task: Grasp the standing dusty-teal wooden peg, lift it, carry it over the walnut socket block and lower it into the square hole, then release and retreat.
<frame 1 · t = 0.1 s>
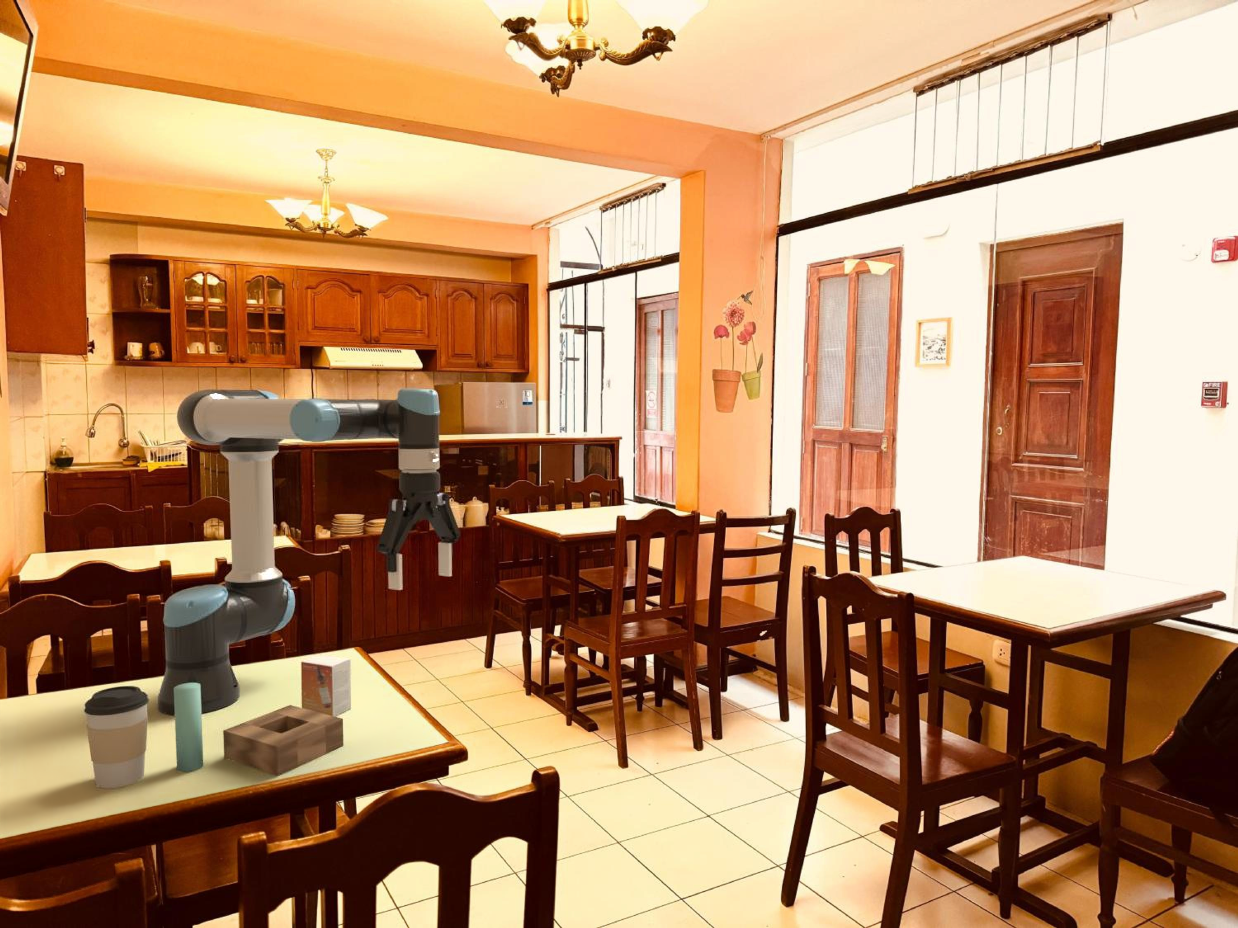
hand: (421, 582, 157), 28 cm above the table, fingers open, 13 cm apart
coffee cup: (120, 779, 136), on the table
socket: (284, 751, 147), on the table
peg: (190, 766, 141), on the table
small box: (326, 711, 167), on the table
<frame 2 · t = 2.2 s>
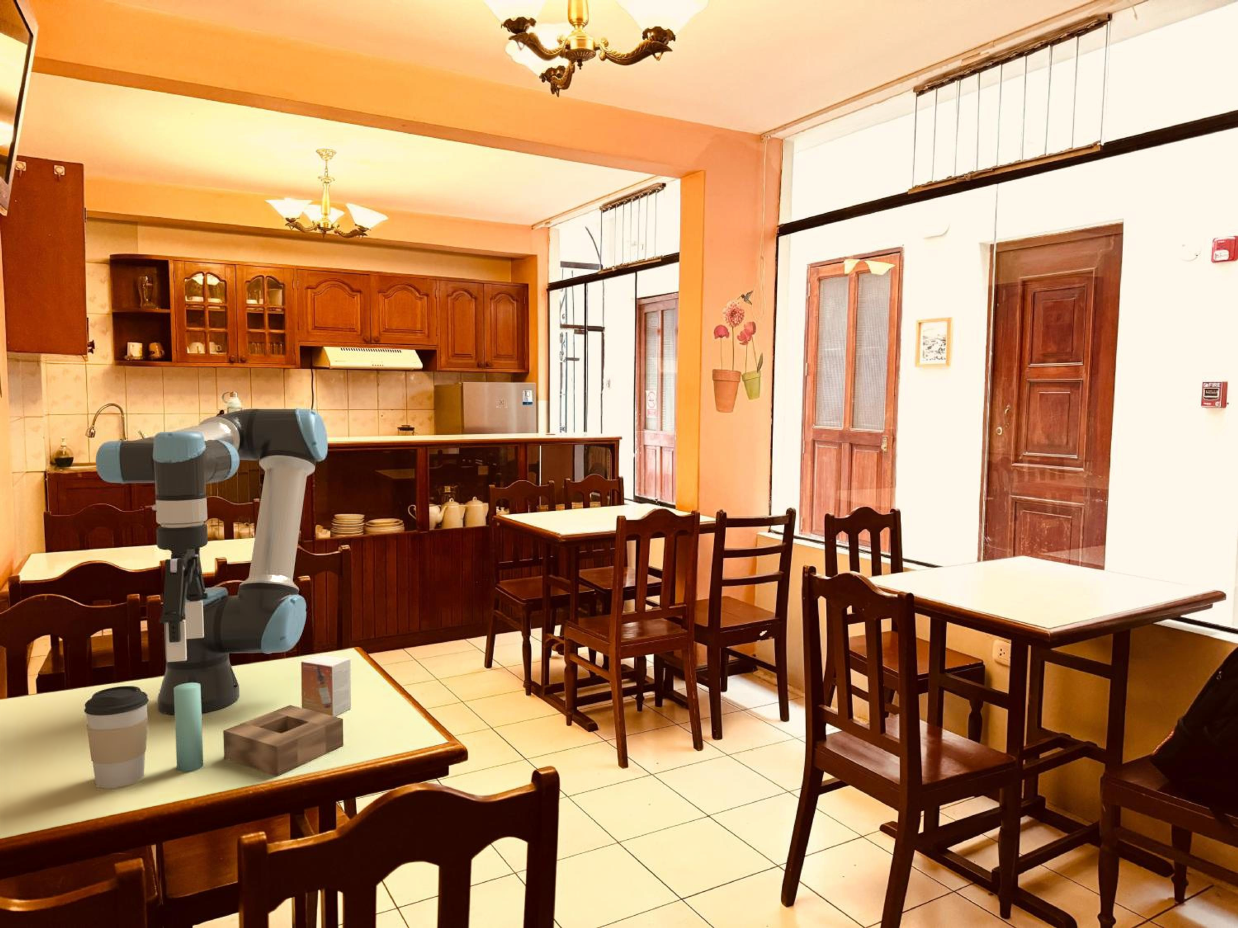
hand: (186, 648, 139), 21 cm above the table, fingers open, 13 cm apart
nothing on the table moved.
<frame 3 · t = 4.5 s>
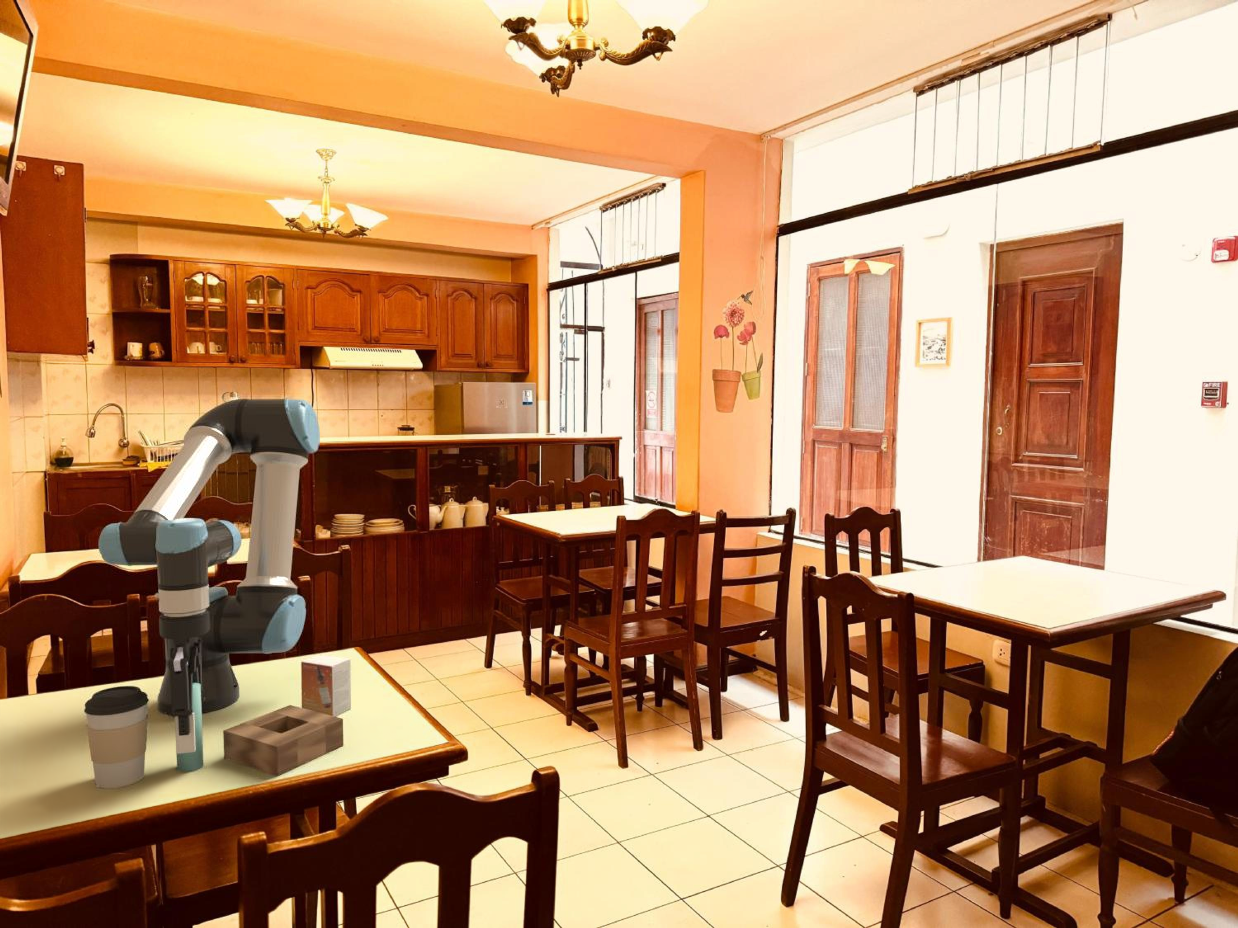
hand: (189, 745, 140), 4 cm above the table, fingers closed on peg, 4 cm apart
peg: (190, 766, 141), on the table, touching gripper
everything else where it was.
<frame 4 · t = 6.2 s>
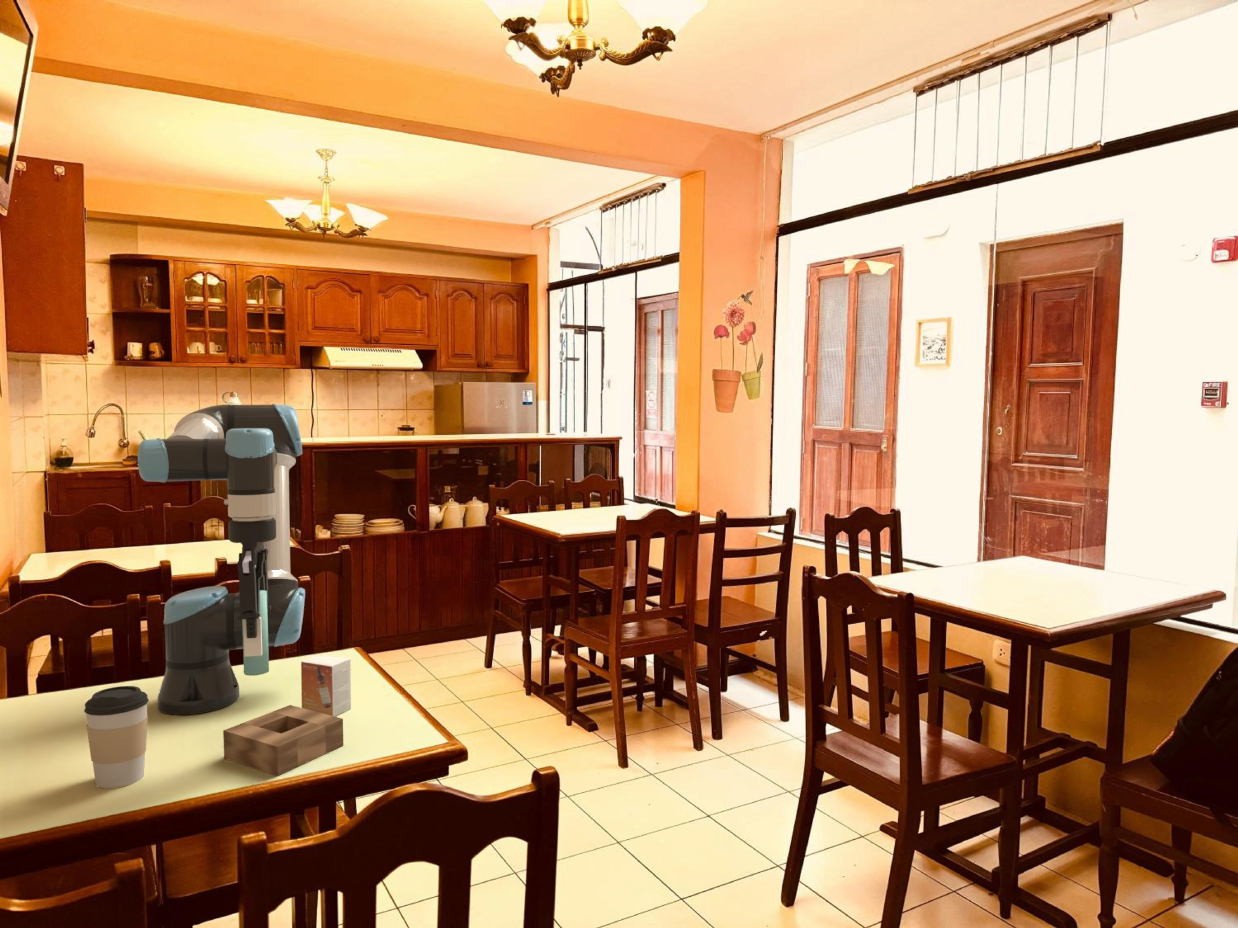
hand: (256, 651, 143), 19 cm above the table, fingers closed on peg, 4 cm apart
peg: (256, 671, 144), point 15 cm above the table, touching gripper
everything else where it was.
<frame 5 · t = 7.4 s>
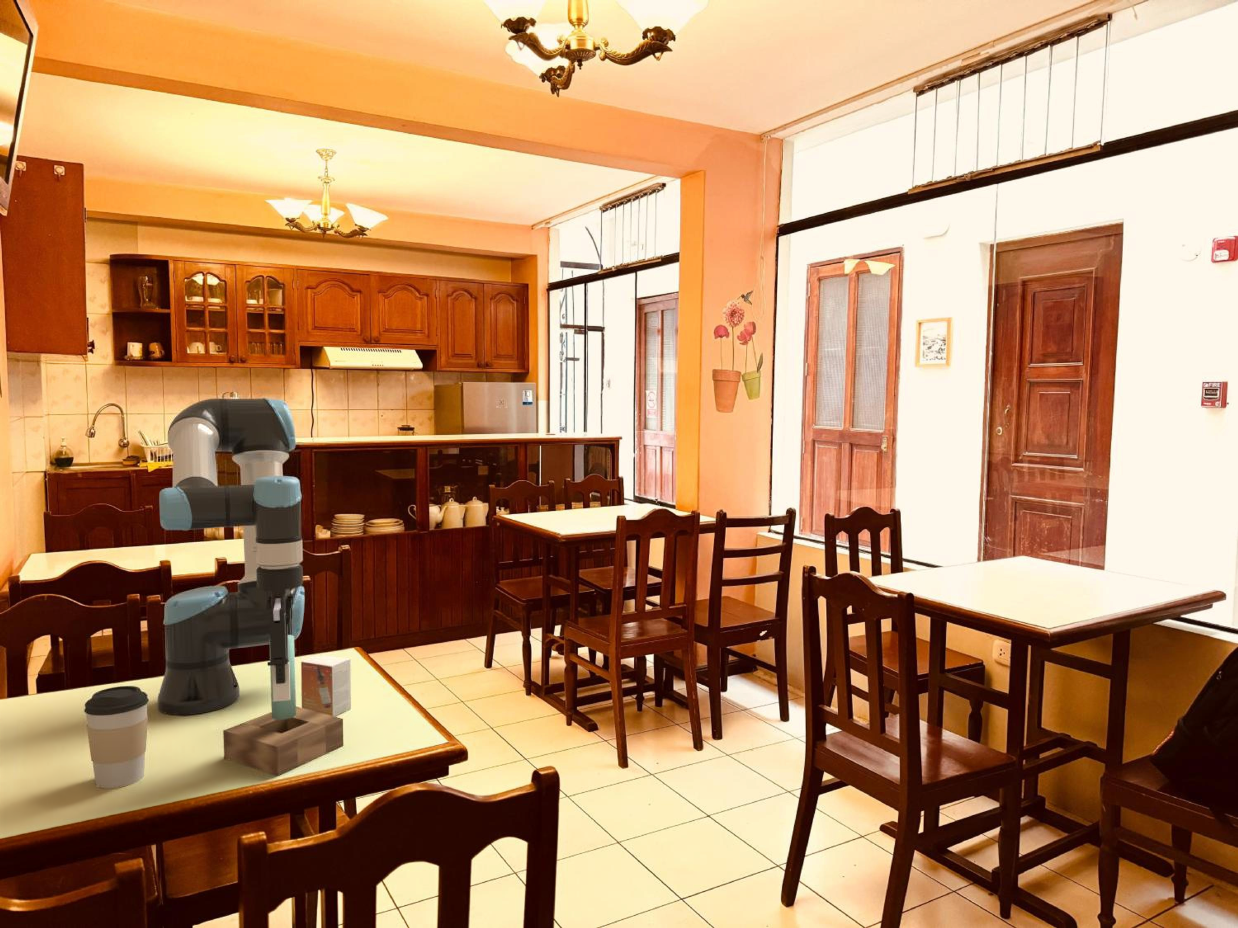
hand: (283, 695, 146), 10 cm above the table, fingers closed on peg, 4 cm apart
peg: (284, 715, 146), point 7 cm above the table, touching gripper
everything else where it was.
when the fingers open (7 cm above the table, at t = 8.4 s): peg drops 2 cm, resting in socket.
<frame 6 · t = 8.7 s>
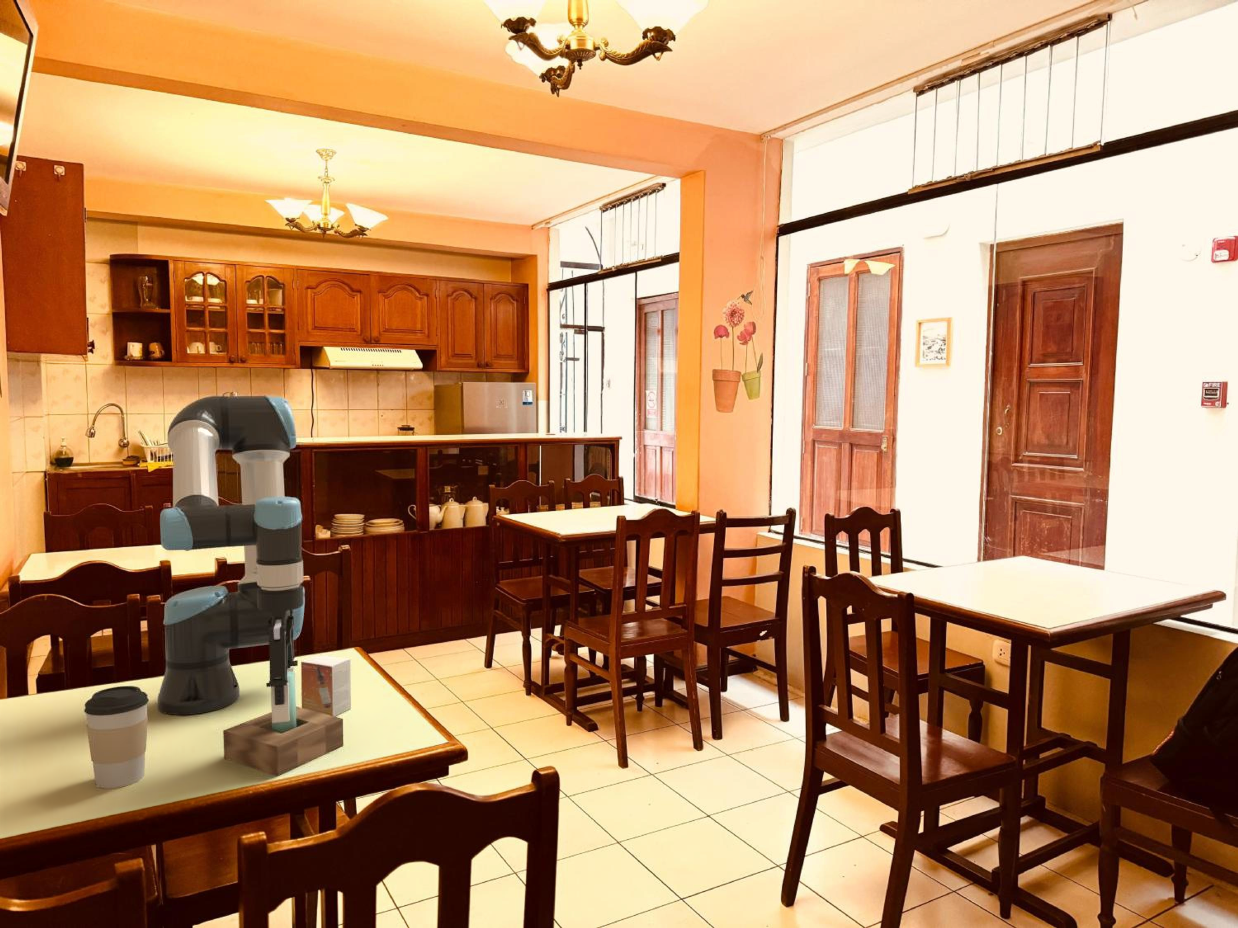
hand: (283, 711, 146), 7 cm above the table, fingers open, 8 cm apart
peg: (284, 751, 147), resting in socket
everything else where it was.
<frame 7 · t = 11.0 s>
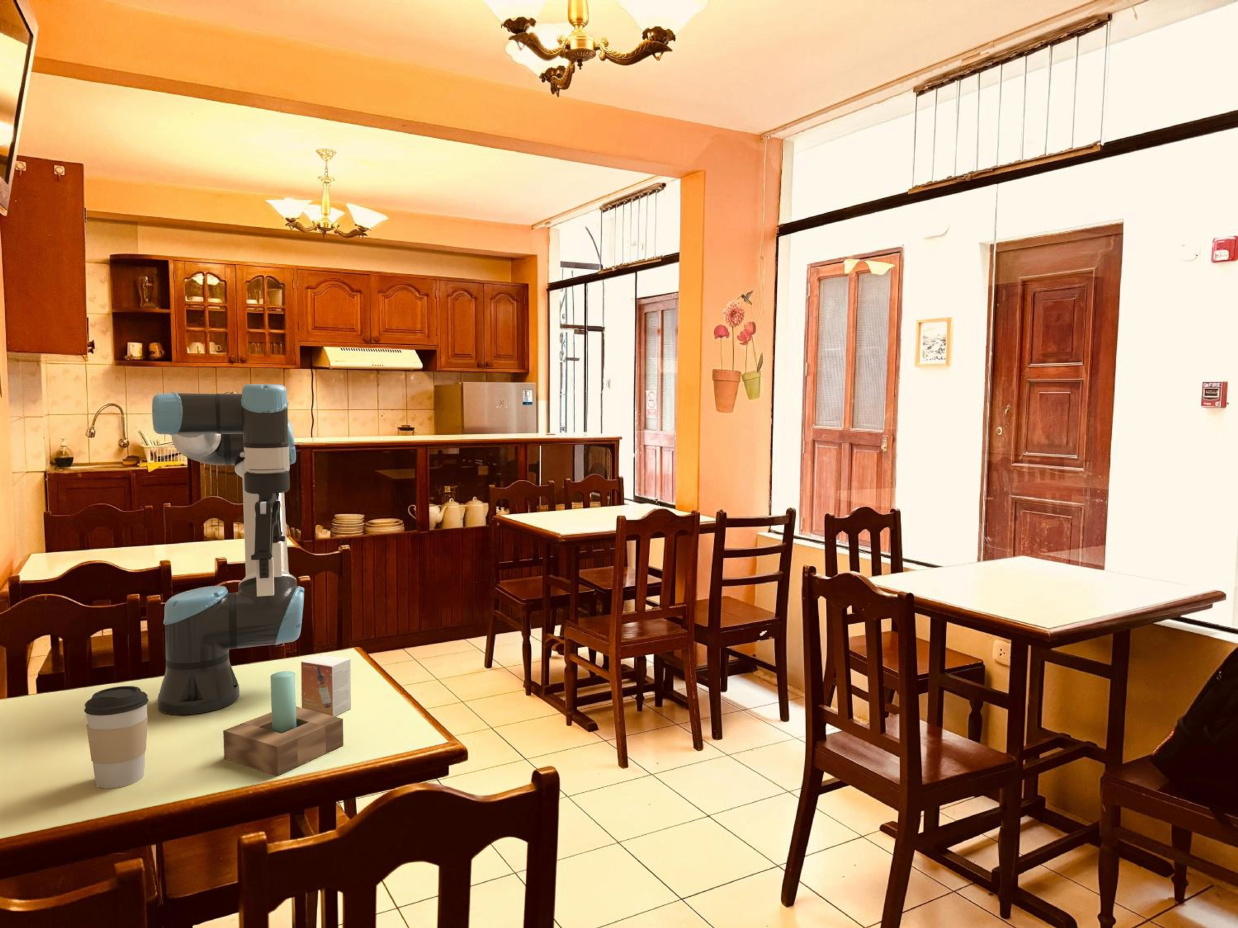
hand: (270, 585, 151), 29 cm above the table, fingers open, 13 cm apart
nothing on the table moved.
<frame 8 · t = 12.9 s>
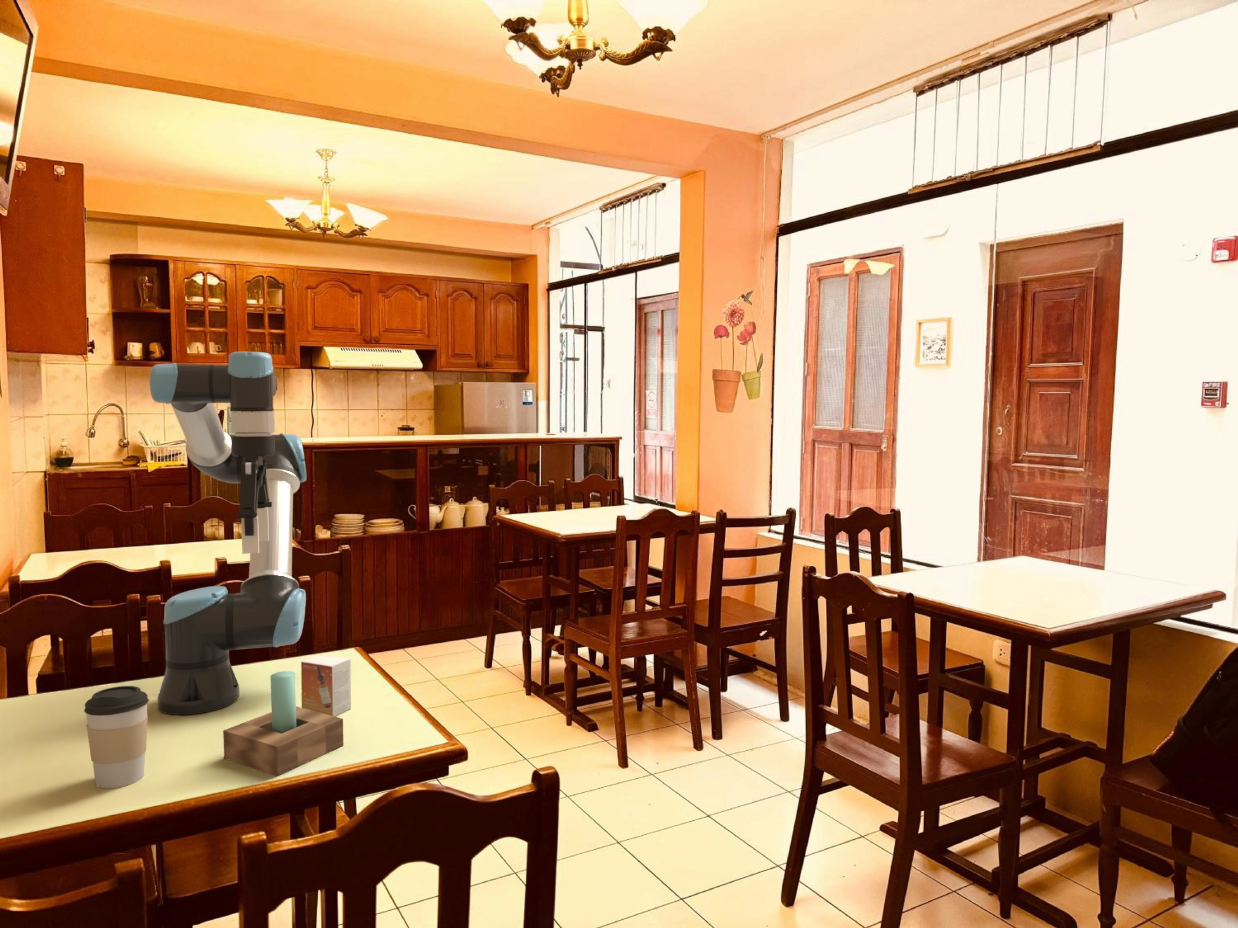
hand: (256, 547, 156), 35 cm above the table, fingers open, 13 cm apart
nothing on the table moved.
at the end: peg 0.0 cm off-centre on the socket, point 0.0 cm above the socket's base; peg tilted 0°; the gripper is holding nothing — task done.
